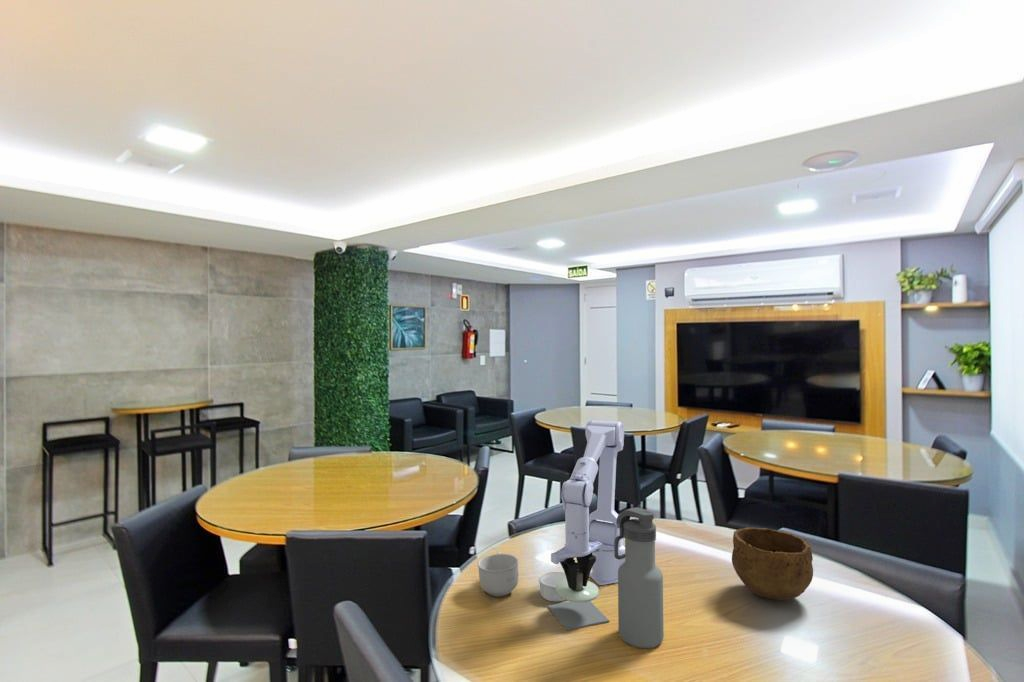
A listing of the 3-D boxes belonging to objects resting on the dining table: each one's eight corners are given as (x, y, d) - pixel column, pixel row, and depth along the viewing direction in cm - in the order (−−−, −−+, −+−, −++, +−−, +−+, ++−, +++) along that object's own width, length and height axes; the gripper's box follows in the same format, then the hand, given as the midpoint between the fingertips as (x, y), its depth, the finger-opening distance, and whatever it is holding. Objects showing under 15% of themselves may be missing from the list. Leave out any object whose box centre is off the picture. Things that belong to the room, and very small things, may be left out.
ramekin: (534, 589, 133) (534, 572, 133) (565, 585, 135) (565, 569, 135) (544, 605, 124) (544, 588, 124) (577, 601, 126) (577, 584, 126)
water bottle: (607, 633, 111) (606, 509, 112) (635, 619, 117) (634, 501, 118) (644, 655, 103) (643, 521, 104) (672, 639, 109) (671, 511, 110)
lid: (580, 577, 127) (580, 559, 127) (607, 595, 118) (608, 575, 118) (547, 587, 122) (547, 568, 122) (573, 606, 113) (573, 586, 113)
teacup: (514, 603, 125) (514, 571, 126) (473, 598, 127) (473, 567, 128) (523, 578, 139) (523, 549, 139) (486, 575, 141) (486, 546, 141)
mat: (587, 599, 127) (587, 598, 127) (609, 621, 116) (609, 620, 116) (548, 607, 123) (548, 605, 123) (566, 630, 113) (566, 628, 113)
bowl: (808, 586, 133) (807, 531, 134) (818, 621, 116) (817, 557, 117) (732, 573, 141) (731, 521, 142) (731, 604, 124) (730, 544, 125)
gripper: (589, 520, 127) (589, 573, 127) (543, 530, 120) (543, 587, 119) (608, 528, 121) (608, 584, 121) (561, 540, 114) (561, 599, 113)
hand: (577, 586), depth 120 cm, fingers closed on lid, 3 cm apart
